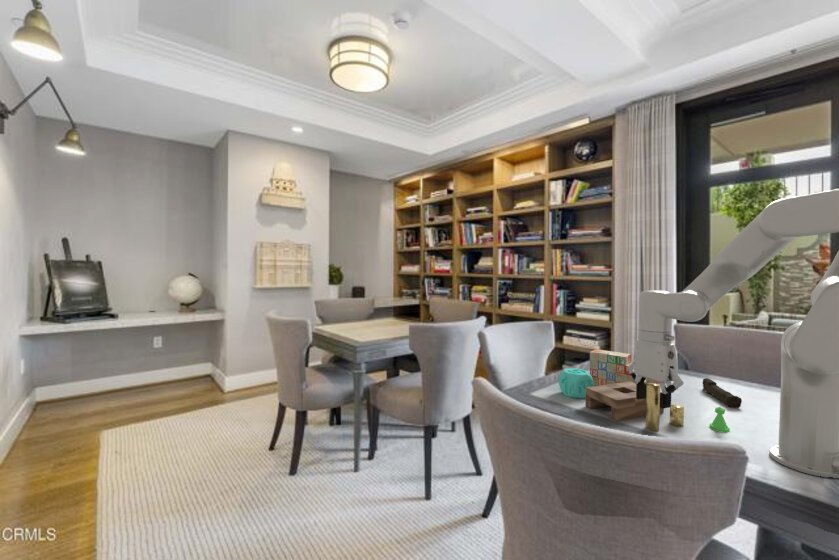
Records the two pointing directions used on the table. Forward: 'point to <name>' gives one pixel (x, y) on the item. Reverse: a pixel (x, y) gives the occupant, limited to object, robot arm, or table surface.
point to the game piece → (719, 421)
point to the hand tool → (721, 394)
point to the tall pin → (652, 406)
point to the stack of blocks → (611, 368)
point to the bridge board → (617, 400)
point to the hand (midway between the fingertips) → (652, 402)
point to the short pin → (677, 415)
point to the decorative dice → (575, 382)
